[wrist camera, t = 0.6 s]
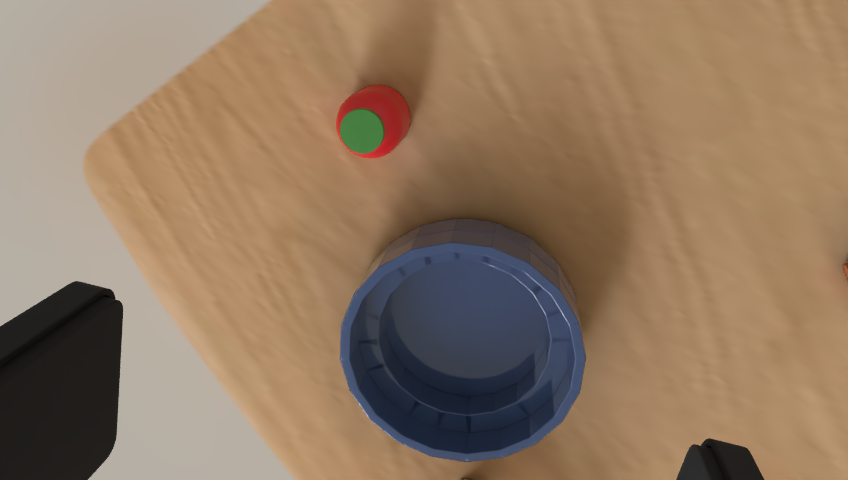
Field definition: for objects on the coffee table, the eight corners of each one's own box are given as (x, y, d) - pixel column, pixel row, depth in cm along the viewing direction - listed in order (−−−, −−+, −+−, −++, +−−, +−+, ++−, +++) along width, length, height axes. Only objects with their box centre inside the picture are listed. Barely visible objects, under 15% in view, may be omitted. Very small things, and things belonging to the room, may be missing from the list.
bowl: (405, 179, 42) (390, 203, 37) (618, 272, 42) (630, 307, 37) (330, 363, 47) (308, 403, 42) (520, 445, 47) (519, 495, 42)
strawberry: (360, 74, 40) (340, 83, 36) (420, 100, 40) (407, 112, 36) (339, 133, 41) (317, 149, 37) (396, 158, 41) (381, 177, 37)
